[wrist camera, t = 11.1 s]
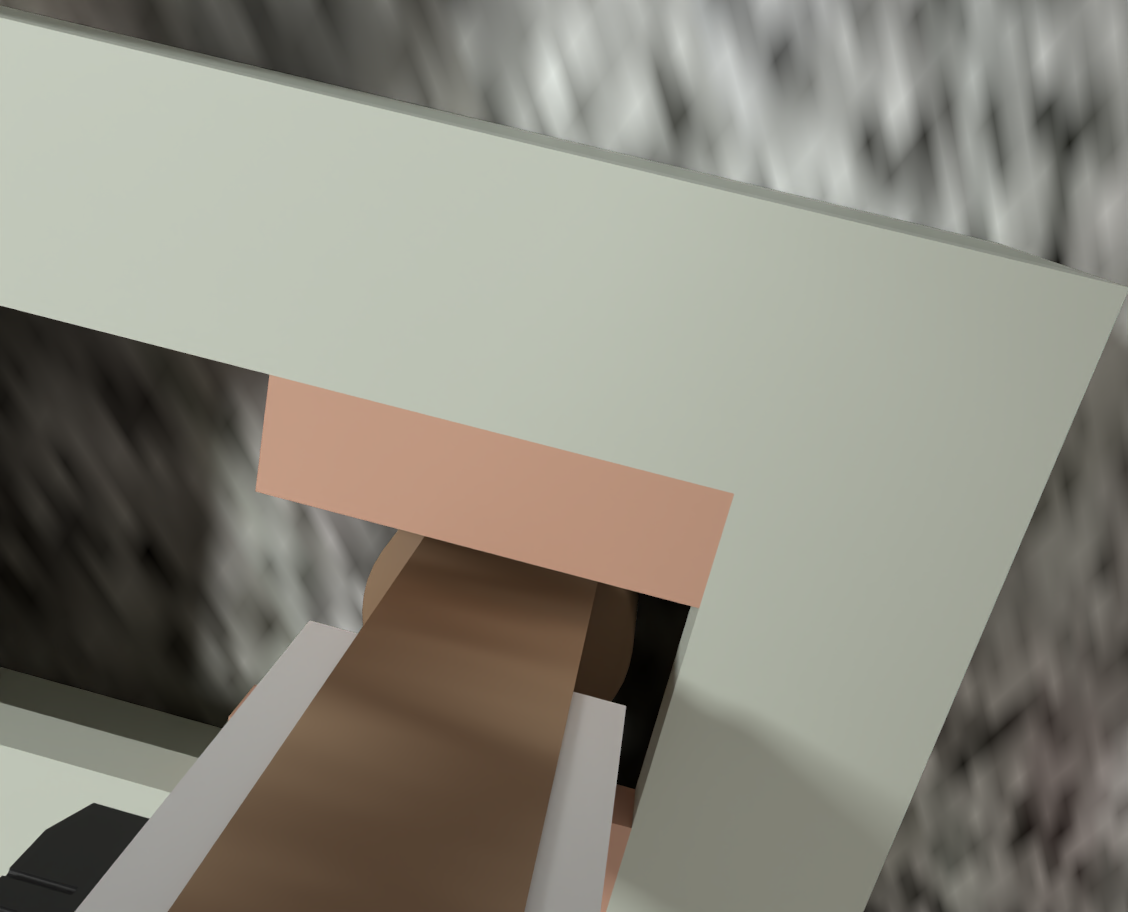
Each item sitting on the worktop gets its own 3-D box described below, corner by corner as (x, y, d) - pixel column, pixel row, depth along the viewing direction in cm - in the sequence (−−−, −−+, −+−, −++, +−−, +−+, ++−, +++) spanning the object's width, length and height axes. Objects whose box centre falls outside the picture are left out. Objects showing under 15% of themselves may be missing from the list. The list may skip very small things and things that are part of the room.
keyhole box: (-110, 670, 24) (-335, 817, 19) (-127, -26, 18) (-450, -91, 13) (750, 910, 23) (765, 1140, 17) (999, 243, 17) (1130, 288, 12)
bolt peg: (402, 615, 21) (-105, 1434, 8) (439, 412, 19) (-118, 1004, 6) (613, 672, 21) (466, 1619, 7) (670, 471, 19) (611, 1222, 6)
